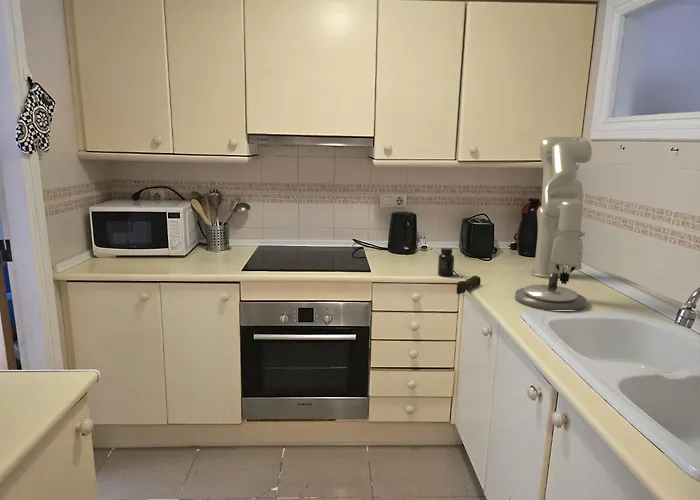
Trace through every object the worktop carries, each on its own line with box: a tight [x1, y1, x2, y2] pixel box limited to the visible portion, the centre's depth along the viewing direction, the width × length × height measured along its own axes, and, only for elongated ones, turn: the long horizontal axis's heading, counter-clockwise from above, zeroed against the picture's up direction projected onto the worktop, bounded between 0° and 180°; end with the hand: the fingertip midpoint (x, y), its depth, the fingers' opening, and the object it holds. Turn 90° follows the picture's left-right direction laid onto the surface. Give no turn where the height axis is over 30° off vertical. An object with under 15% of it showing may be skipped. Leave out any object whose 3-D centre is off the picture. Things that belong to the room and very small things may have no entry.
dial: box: [523, 273, 579, 303], centre depth 173 cm, size 18×18×6 cm
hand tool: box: [456, 275, 482, 295], centre depth 189 cm, size 19×4×5 cm, turn 141°
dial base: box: [514, 287, 587, 311], centre depth 174 cm, size 24×24×2 cm
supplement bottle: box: [437, 247, 455, 278], centre depth 210 cm, size 7×7×12 cm
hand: (563, 283), depth 177 cm, fingers closed
